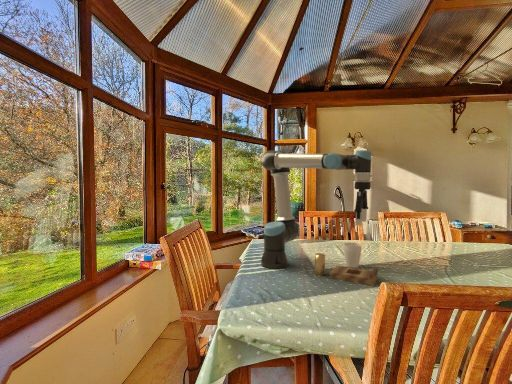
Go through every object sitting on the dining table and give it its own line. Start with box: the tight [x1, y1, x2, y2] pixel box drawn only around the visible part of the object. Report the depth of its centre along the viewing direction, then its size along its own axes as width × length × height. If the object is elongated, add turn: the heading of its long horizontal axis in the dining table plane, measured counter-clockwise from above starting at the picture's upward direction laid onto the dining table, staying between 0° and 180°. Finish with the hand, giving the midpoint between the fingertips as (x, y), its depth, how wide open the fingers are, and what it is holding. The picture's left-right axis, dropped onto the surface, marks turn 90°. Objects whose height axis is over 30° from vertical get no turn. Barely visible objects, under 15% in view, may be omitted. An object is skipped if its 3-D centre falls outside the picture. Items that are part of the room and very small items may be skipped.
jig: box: [329, 265, 379, 287], centre depth 140 cm, size 20×12×5 cm, turn 59°
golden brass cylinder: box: [314, 253, 326, 277], centre depth 146 cm, size 5×5×10 cm
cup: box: [343, 242, 362, 268], centre depth 159 cm, size 9×9×12 cm
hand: (361, 223), depth 146 cm, fingers open, 13 cm apart
